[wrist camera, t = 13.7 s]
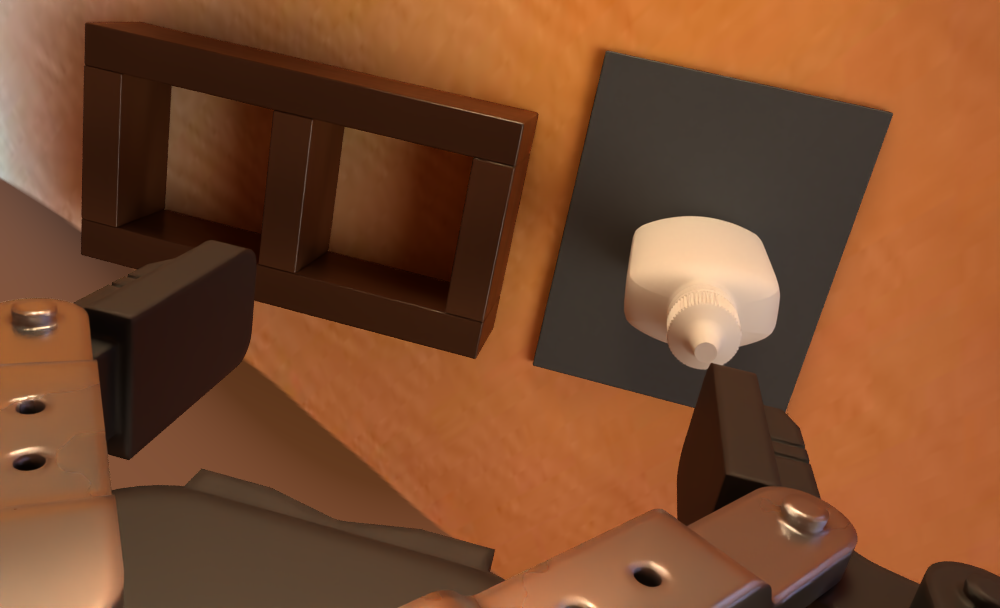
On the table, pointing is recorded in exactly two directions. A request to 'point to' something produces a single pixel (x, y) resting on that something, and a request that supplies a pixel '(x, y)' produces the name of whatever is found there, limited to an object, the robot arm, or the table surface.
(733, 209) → the mat
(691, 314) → the eye dropper bottle
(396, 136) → the rack
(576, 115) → the table surface
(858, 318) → the table surface
